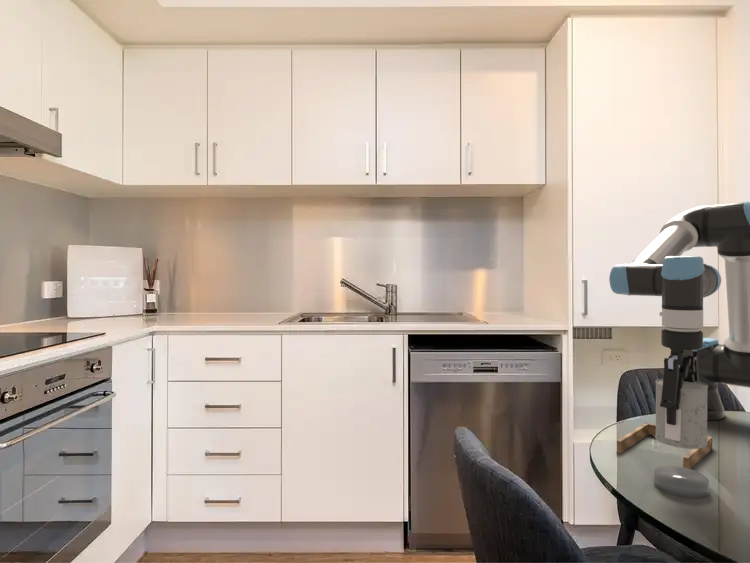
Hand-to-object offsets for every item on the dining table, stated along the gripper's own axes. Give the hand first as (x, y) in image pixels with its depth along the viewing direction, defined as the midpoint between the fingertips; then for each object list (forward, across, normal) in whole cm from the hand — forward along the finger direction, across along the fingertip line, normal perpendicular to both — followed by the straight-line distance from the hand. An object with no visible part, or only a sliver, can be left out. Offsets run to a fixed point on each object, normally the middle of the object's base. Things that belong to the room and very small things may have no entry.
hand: (680, 432), depth 108 cm
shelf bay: (+12, -20, -10) cm, 25 cm away
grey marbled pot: (+2, 0, 0) cm, 2 cm away
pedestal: (+12, 0, 0) cm, 12 cm away
